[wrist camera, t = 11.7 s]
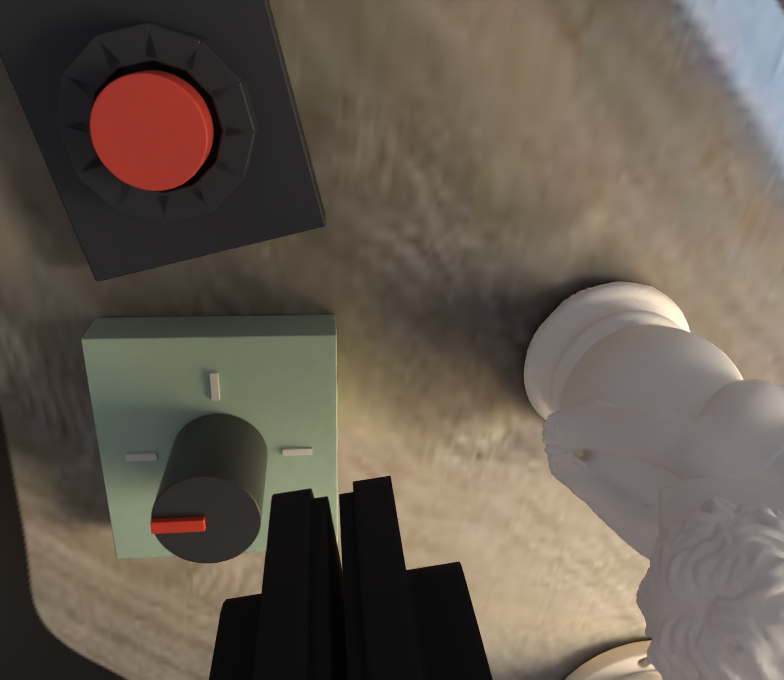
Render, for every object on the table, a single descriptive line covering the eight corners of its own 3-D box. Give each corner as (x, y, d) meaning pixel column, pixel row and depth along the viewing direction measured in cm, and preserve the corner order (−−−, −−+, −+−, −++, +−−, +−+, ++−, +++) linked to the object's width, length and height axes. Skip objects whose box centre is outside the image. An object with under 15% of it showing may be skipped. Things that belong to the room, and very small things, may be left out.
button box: (325, 213, 32) (327, 238, 28) (108, 266, 32) (83, 297, 28) (252, -60, 27) (244, -73, 24) (0, 1, 27) (-48, -2, 24)
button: (228, 167, 27) (222, 176, 26) (126, 192, 27) (114, 202, 26) (193, 58, 25) (185, 60, 24) (85, 84, 25) (70, 88, 24)
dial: (265, 411, 33) (257, 478, 28) (269, 490, 35) (263, 565, 30) (167, 414, 32) (143, 483, 27) (177, 494, 34) (155, 571, 29)
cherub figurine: (470, 389, 36) (669, 834, 16) (597, 167, 32) (1065, 397, 12) (659, 463, 40) (1016, 910, 20) (795, 269, 36) (1421, 582, 16)
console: (335, 517, 39) (337, 550, 36) (128, 527, 38) (115, 561, 35) (334, 314, 34) (336, 336, 32) (96, 317, 33) (79, 340, 30)
